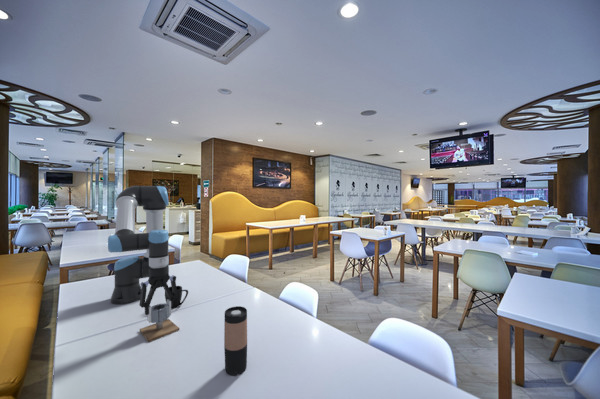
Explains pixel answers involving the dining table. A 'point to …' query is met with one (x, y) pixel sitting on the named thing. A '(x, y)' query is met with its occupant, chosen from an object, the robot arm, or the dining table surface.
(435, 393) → the dining table surface
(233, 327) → the travel mug
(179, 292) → the mug
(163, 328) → the shaft stand
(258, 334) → the dining table surface
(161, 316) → the ring
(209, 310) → the dining table surface
